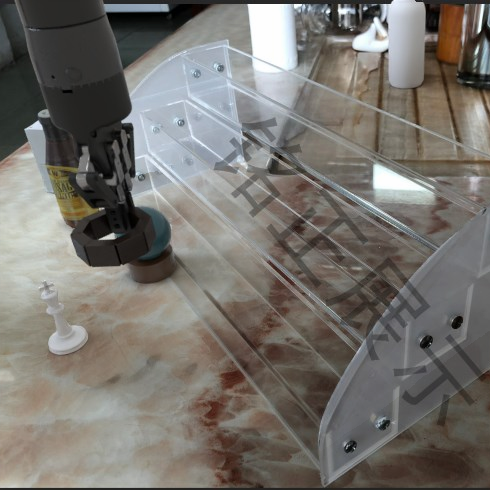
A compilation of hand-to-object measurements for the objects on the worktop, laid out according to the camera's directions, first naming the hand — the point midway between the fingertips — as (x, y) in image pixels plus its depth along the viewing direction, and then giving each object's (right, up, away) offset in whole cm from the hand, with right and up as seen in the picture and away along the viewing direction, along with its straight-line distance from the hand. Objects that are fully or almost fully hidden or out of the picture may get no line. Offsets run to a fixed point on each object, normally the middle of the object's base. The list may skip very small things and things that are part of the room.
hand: (125, 227), depth 65 cm
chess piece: (-12, -15, +13) cm, 23 cm away
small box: (-27, +10, +51) cm, 59 cm away
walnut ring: (0, -2, -2) cm, 3 cm away
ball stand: (-4, -6, +26) cm, 27 cm away
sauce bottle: (-20, +2, +40) cm, 45 cm away
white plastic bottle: (+43, +39, +86) cm, 104 cm away
